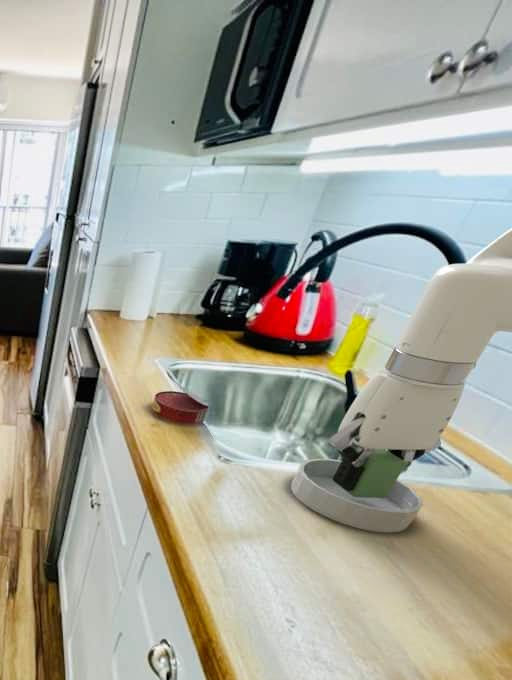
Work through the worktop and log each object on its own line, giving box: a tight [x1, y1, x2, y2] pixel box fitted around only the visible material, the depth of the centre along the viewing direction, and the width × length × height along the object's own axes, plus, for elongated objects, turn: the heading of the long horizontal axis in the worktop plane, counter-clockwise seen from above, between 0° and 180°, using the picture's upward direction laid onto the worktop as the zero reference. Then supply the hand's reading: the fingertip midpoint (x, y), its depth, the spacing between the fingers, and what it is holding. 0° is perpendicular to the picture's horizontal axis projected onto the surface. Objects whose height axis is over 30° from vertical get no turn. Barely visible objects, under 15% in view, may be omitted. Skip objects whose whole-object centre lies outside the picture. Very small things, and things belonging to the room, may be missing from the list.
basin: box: [290, 458, 424, 533], centre depth 71 cm, size 14×14×4 cm
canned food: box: [150, 370, 210, 426], centre depth 97 cm, size 11×10×10 cm
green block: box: [332, 447, 407, 498], centre depth 69 cm, size 4×4×6 cm
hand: (360, 484), depth 70 cm, fingers closed on green block, 4 cm apart
